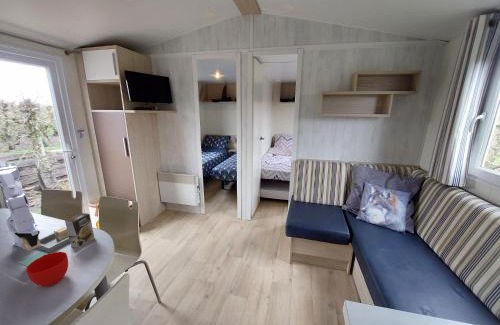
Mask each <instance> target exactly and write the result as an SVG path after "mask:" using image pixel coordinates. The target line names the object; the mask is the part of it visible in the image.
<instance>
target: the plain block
mask: <svg viewBox="0 0 500 325" xmlns="http://www.w3.org/2000/svg"><path fill="white" fill-rule="evenodd" d="M53 233H54V234H55V237H56V240H57V241H60V242H61V241H63V240H65V239H67V238H69V235H68V232H67V227H66V226H62V227H59V228H57V229H56V230H53Z"/></svg>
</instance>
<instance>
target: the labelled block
mask: <svg viewBox="0 0 500 325" xmlns="http://www.w3.org/2000/svg"><path fill="white" fill-rule="evenodd" d="M39 239H40V238H39V236H38V240H37V245H36V246H34V247H31V246H30V245H29V243H28V241H27V240H26V239H25V238H23V237H21V238H20V240H21V243H22V246H23V250H26V251H32V250H34V249H36V248H37V247H38V246H40V245H41V244H40V241H39Z"/></svg>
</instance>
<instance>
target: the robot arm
mask: <svg viewBox="0 0 500 325" xmlns="http://www.w3.org/2000/svg"><path fill="white" fill-rule="evenodd" d="M20 178H21V173H20V170H19V168H18V166H16V165H12V166H11V165H10V166H6V167H0V186H1V187H2V189H3V190H2V191H3V195H4V197H5V203H6V206H7V209H8V210H9V212H10V214H9V215H8V216H7V217H6V219H5V221H6V225H7V228H8V232H11V235H12V239H13V241H14V242H13V243H12V245H14V246H16V247H19V248H23V246H22V243H21V240H20V238H21V237H23V238H25V239H26V240H27V241H28V243H29V245H30V246H31V247H34V246H36V245H37V240H38V237H39V235H40V233H41V232H40V230H38V229H37V228H36V227H37V226H38V224H37V223H36V222H35V219H34V216H33V214H32V212H31V211H30V208H29V206H30V203H29V199H28V197H27V195H26V194H25V193H24V192H23V190H22V187H21V186H20V185H18V184H17V183H16V182H18V181H19V180H20Z"/></svg>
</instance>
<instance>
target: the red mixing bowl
mask: <svg viewBox="0 0 500 325" xmlns="http://www.w3.org/2000/svg"><path fill="white" fill-rule="evenodd" d="M68 268H69V259H68V253H67V252H65V251H53V252H49V253H48V254H47V255H46V254H45V255H43V256H42V257H40V258H38V259H36V260H34V261H33V262H32V263H30V264H29V265H28V267H27V266H26V268H25V269H26V270H25V272H26V275H27V276H28V278H29V279H30V282H32V284H35V285H36V286H40V287H45V288H48V287H52V286H54V285H55V286H56V284H58V283H60V282H61V281H62V280H63V279H64V277H65V275H66V274H67V271H68Z"/></svg>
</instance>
